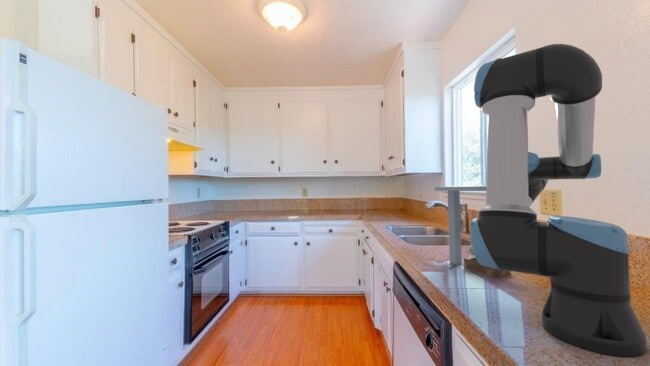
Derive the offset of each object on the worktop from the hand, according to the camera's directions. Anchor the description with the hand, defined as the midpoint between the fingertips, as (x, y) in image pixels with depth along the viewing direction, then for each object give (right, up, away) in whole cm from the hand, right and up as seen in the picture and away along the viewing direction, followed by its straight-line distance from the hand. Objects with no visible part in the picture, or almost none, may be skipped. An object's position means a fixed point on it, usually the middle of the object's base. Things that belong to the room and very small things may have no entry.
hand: (477, 254), depth 97 cm
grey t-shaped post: (-1, -6, +4) cm, 7 cm away
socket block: (+4, -6, +1) cm, 7 cm away
